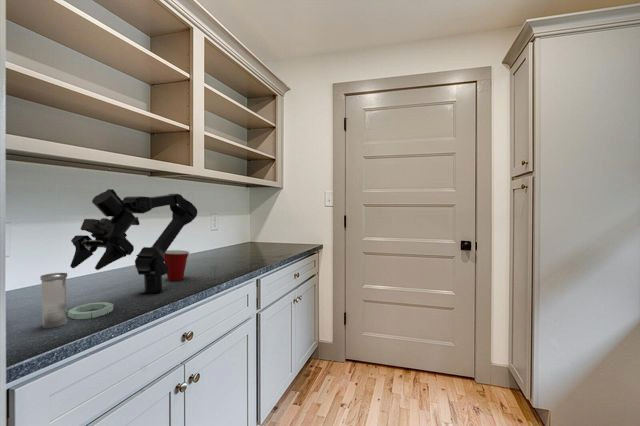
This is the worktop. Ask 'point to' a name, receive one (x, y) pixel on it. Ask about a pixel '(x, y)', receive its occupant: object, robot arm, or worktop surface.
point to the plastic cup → (175, 264)
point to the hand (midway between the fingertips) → (83, 268)
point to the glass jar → (54, 299)
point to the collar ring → (79, 314)
